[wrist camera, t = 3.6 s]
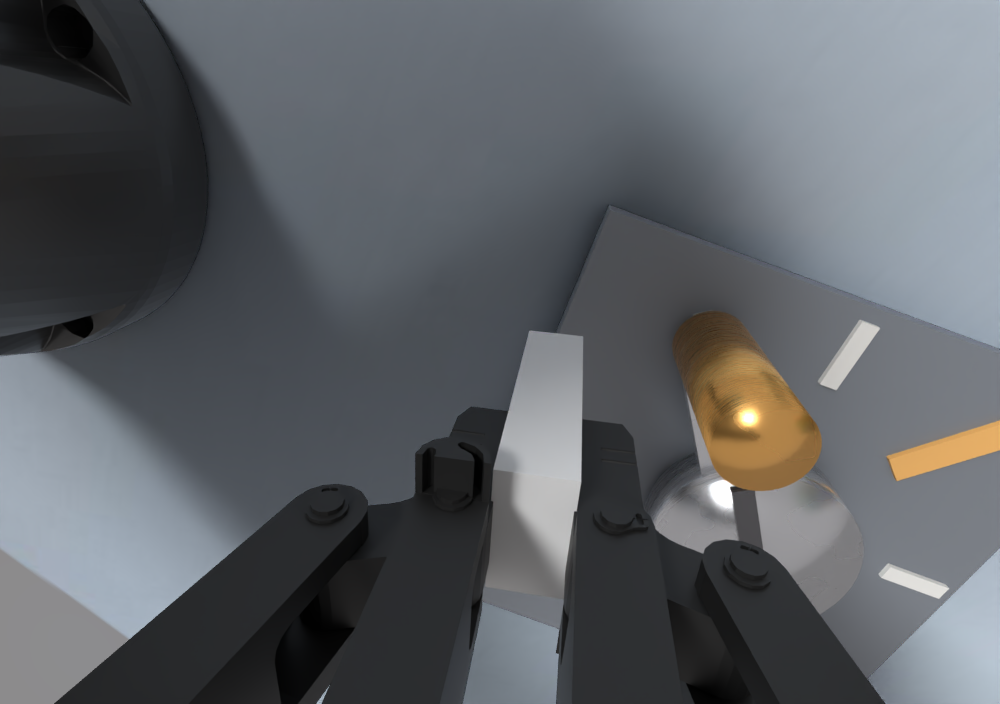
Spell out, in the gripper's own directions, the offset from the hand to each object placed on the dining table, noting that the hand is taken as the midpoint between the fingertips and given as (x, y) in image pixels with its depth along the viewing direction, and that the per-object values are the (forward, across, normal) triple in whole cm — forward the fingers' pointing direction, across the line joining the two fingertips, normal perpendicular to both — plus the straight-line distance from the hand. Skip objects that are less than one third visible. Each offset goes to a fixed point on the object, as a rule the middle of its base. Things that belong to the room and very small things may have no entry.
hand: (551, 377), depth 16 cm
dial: (+4, +7, -4) cm, 9 cm away
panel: (+5, +8, -7) cm, 11 cm away
